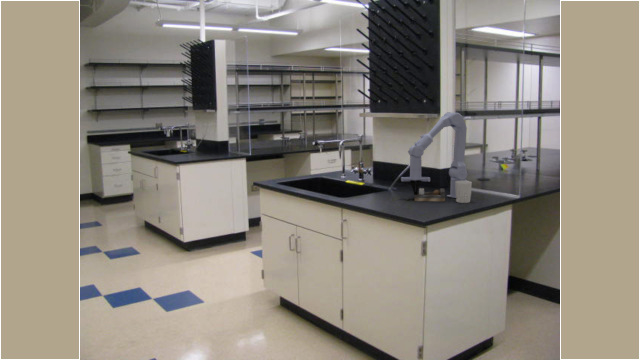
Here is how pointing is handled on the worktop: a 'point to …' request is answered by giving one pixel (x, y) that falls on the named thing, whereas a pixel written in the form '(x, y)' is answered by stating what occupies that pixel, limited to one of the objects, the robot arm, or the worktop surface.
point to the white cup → (463, 191)
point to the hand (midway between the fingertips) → (415, 195)
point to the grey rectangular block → (421, 191)
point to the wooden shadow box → (431, 196)
